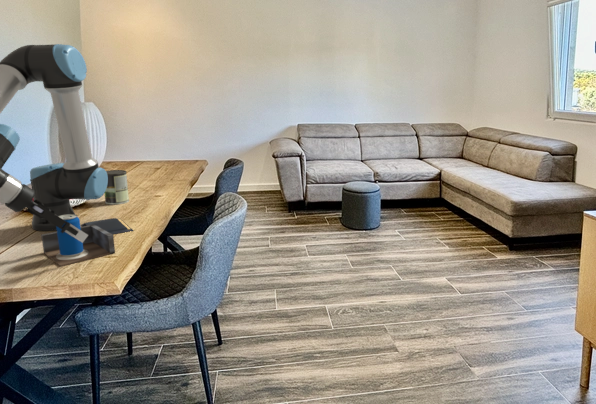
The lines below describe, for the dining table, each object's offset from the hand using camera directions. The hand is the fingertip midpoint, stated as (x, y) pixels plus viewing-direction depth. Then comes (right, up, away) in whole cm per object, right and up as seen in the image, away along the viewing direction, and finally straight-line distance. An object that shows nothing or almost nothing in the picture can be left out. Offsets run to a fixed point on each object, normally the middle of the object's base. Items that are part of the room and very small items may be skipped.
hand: (77, 233), depth 137 cm
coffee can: (-15, +10, +68) cm, 70 cm away
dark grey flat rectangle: (-3, -1, +29) cm, 29 cm away
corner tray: (-1, -6, +3) cm, 7 cm away
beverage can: (-2, -7, 0) cm, 7 cm away
